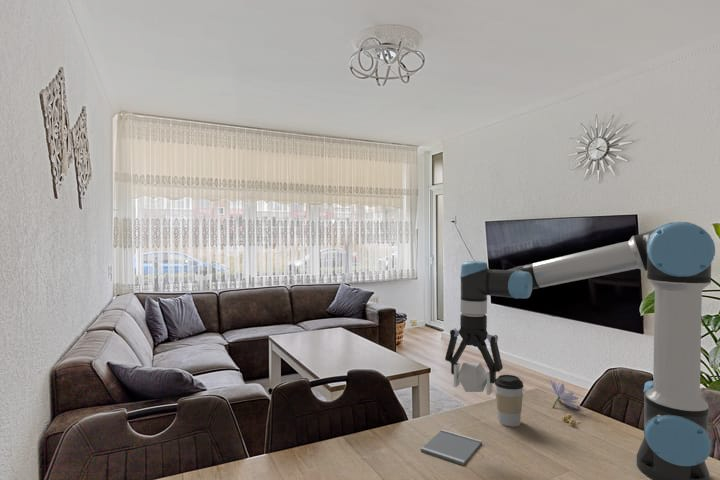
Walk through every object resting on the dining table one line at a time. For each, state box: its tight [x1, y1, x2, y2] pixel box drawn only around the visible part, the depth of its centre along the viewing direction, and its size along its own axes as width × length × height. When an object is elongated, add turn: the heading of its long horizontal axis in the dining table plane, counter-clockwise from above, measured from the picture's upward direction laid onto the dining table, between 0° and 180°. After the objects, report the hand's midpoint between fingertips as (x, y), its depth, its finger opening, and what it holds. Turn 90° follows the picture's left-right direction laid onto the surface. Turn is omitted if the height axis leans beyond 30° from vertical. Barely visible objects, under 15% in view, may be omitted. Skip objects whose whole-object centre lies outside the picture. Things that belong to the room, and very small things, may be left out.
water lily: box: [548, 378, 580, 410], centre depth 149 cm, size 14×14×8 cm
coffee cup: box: [494, 374, 524, 427], centre depth 138 cm, size 9×9×15 cm
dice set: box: [561, 413, 581, 427], centre depth 137 cm, size 5×5×2 cm
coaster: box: [420, 429, 483, 466], centre depth 122 cm, size 13×14×1 cm
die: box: [458, 362, 488, 393], centre depth 123 cm, size 8×9×10 cm
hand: (472, 389), depth 123 cm, fingers closed on die, 9 cm apart
